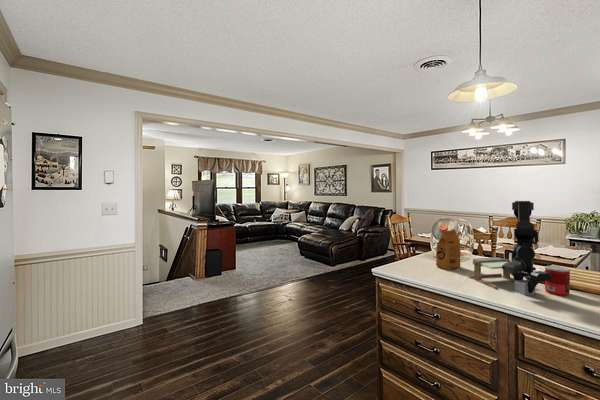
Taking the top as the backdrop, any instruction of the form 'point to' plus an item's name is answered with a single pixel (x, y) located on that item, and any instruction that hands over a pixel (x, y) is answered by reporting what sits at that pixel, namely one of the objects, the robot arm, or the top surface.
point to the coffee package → (448, 250)
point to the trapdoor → (491, 262)
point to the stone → (522, 287)
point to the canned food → (558, 280)
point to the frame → (488, 275)
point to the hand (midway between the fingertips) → (524, 290)
